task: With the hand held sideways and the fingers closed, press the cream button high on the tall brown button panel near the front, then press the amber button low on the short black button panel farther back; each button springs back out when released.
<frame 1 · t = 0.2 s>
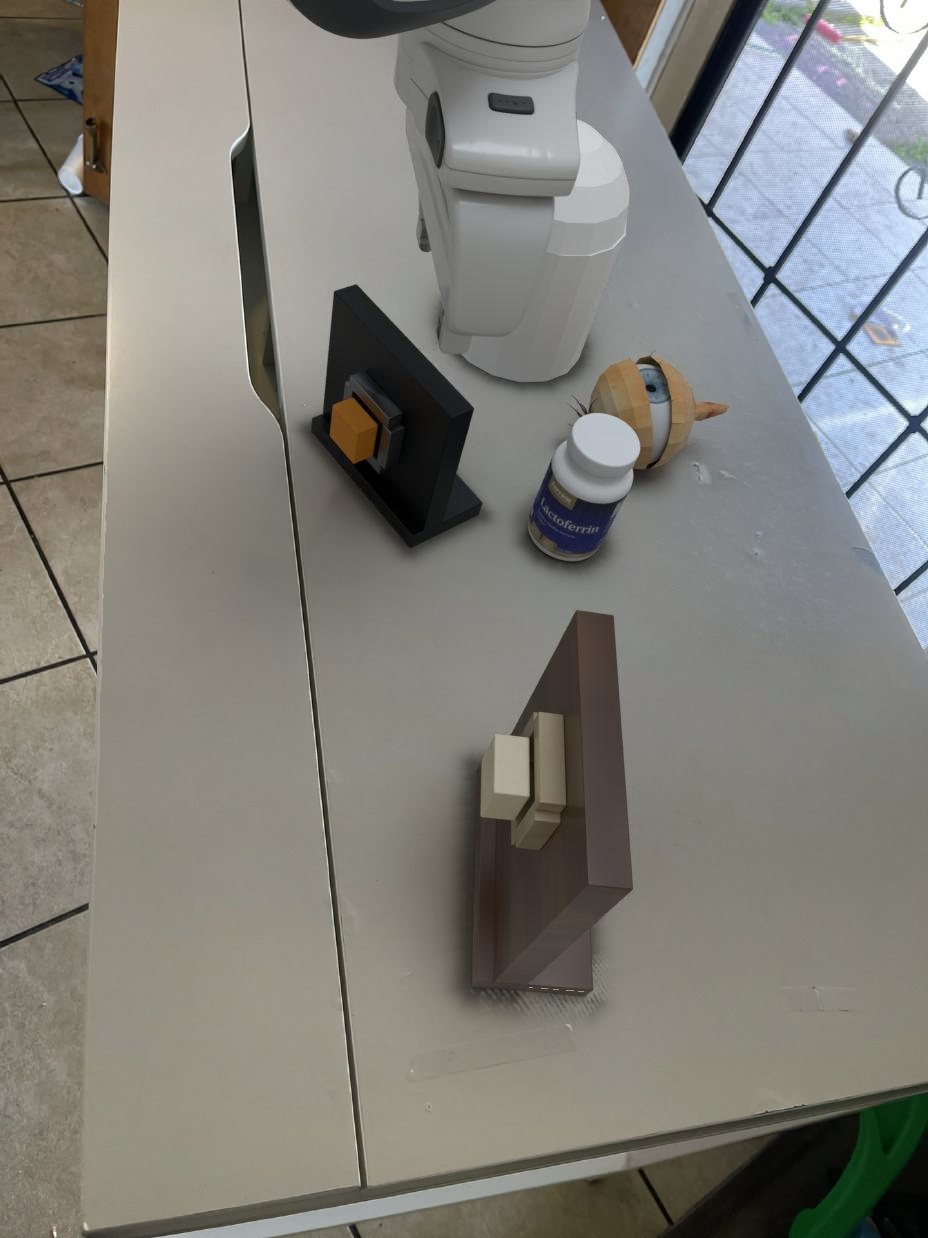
hand: (440, 293, 57), 20 cm above the table, tool pointing down, fingers open, 8 cm apart
sculpture: (631, 452, 82), on the table
scissors: (528, 177, 104), on the table
container: (512, 335, 88), on the table
black button panel: (379, 478, 74), on the table
button far: (353, 430, 67), point 7 cm above the table, slide at -0.1 cm
brown button panel: (505, 873, 58), on the table
pill bottle: (562, 534, 75), on the table
button near: (504, 777, 46), point 14 cm above the table, slide at -0.1 cm
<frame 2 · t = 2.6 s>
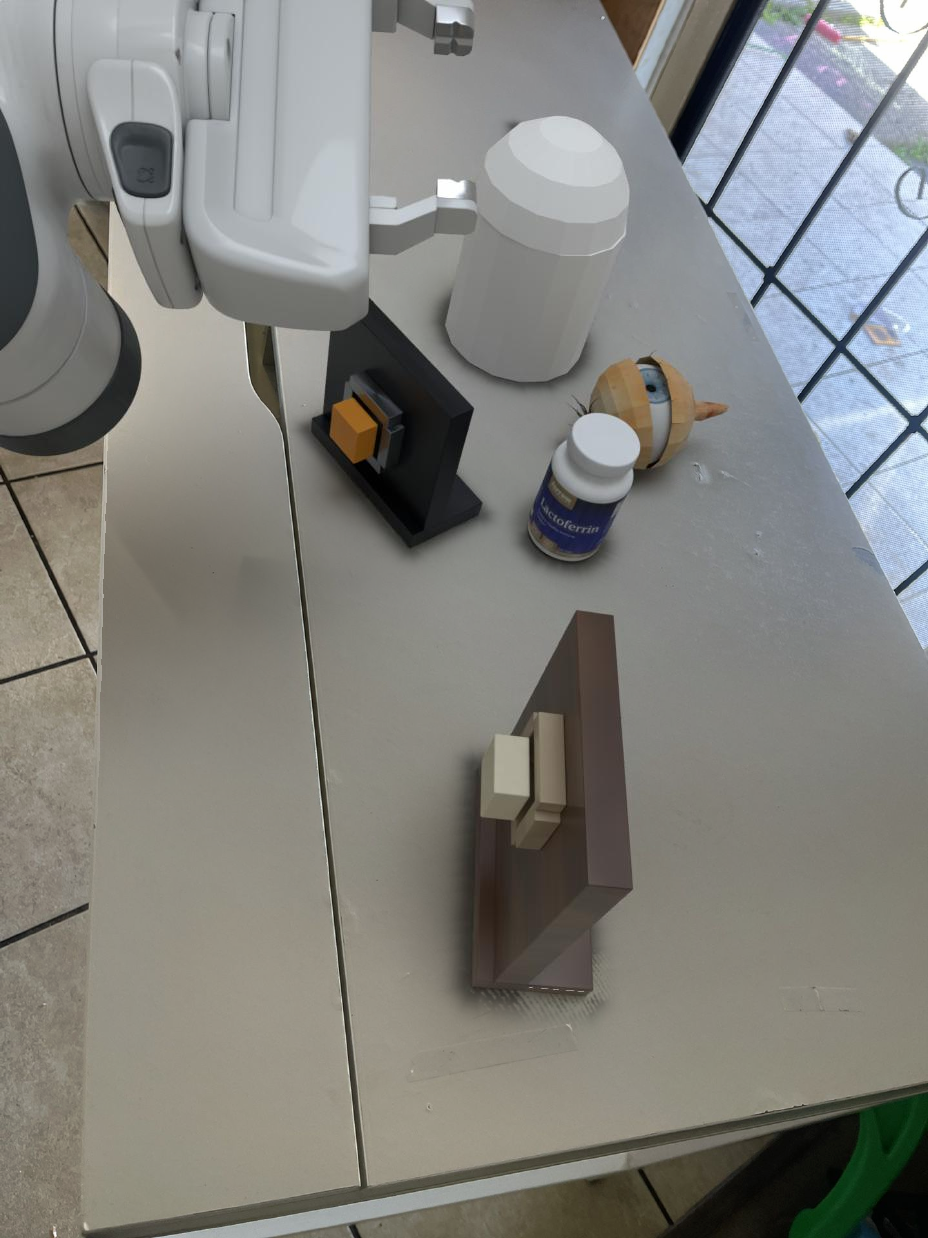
hand: (474, 116, 41), 34 cm above the table, tool horizontal, fingers open, 8 cm apart
nothing on the table moved.
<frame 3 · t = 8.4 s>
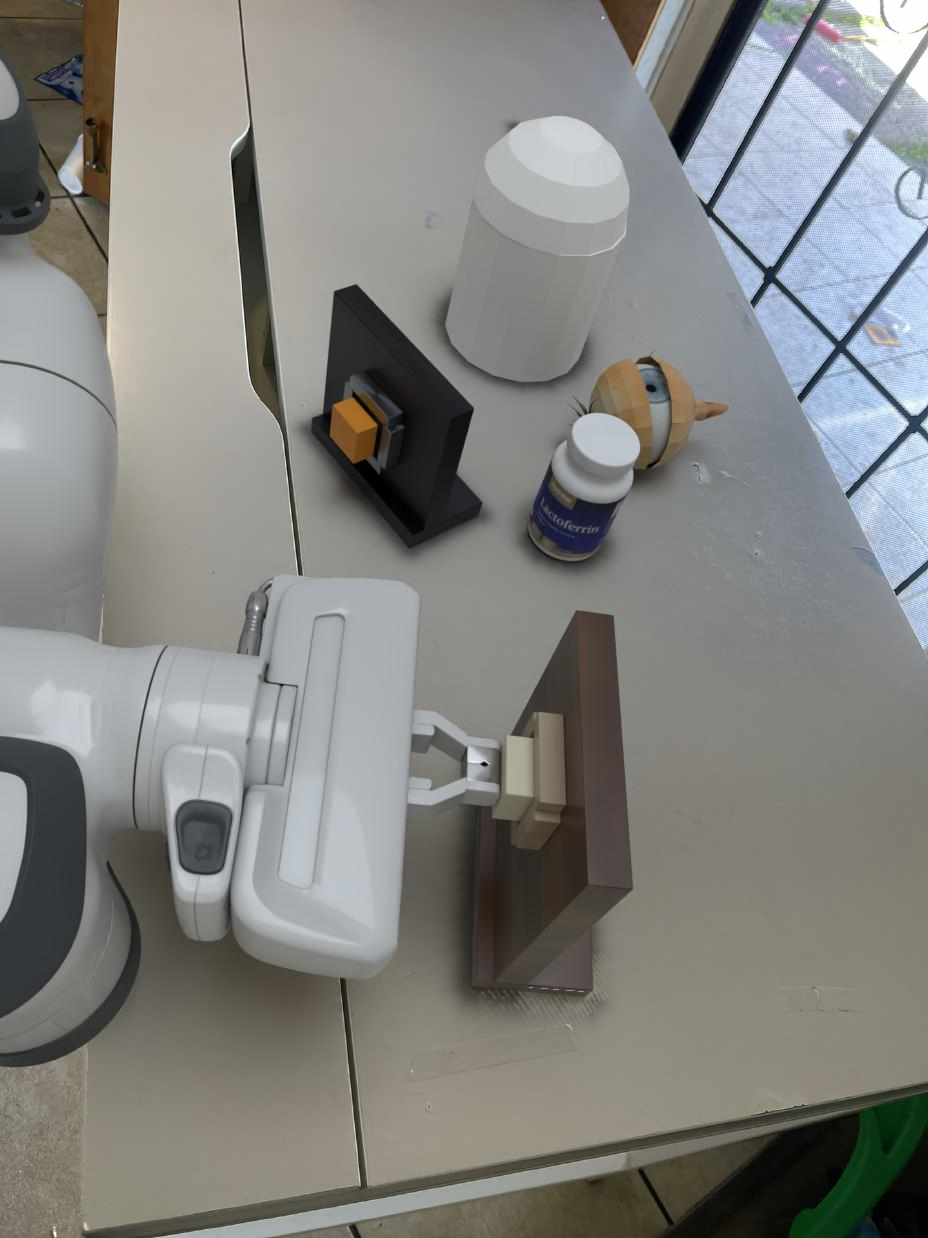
hand: (498, 773, 46), 14 cm above the table, tool horizontal, fingers closed, pressing on button near
button near: (516, 778, 46), point 14 cm above the table, slide at 0.5 cm, touching gripper
everything else where it was.
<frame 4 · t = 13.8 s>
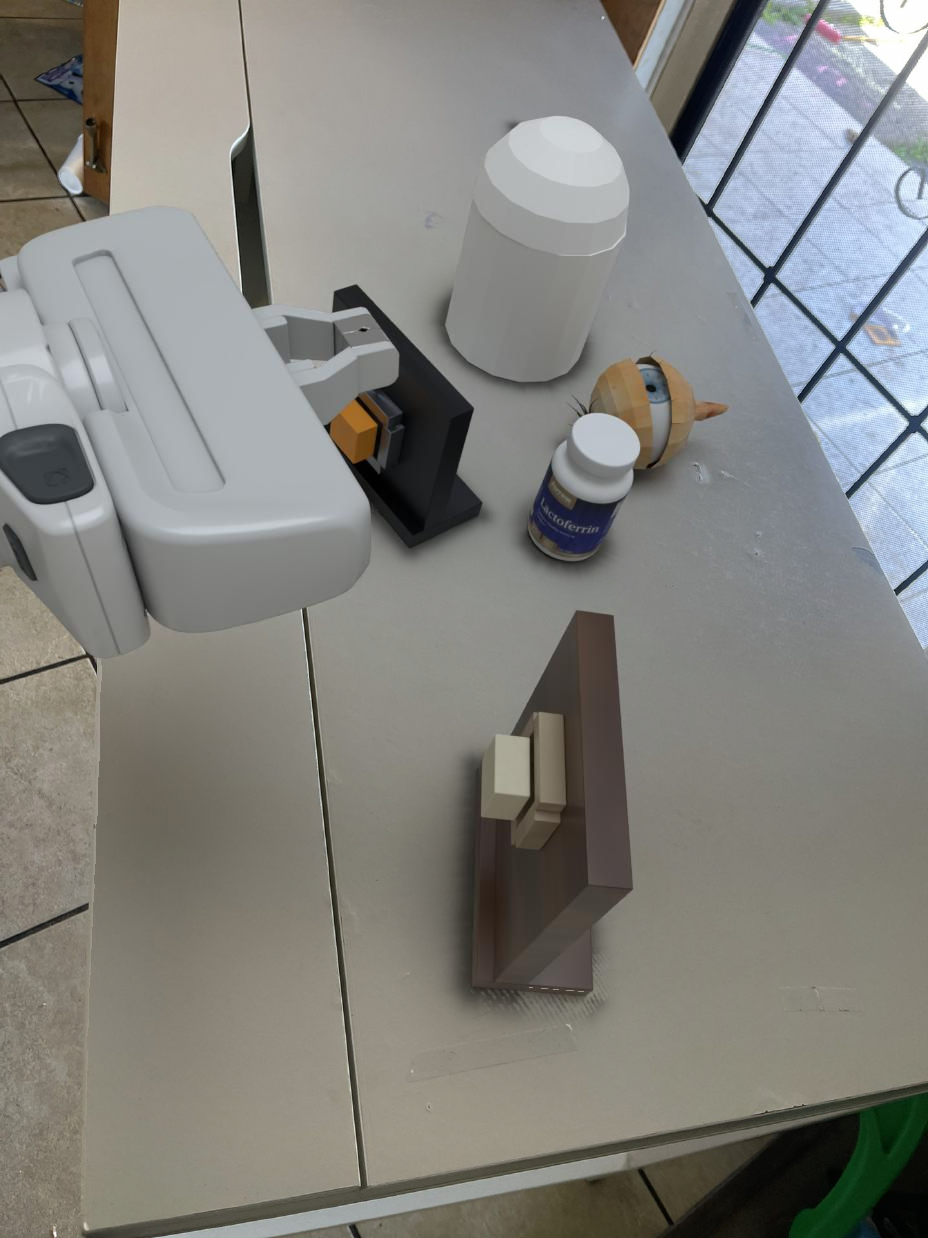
hand: (384, 343, 37), 31 cm above the table, tool horizontal, fingers closed
button near: (505, 777, 46), point 14 cm above the table, slide at -0.1 cm
everything else where it was.
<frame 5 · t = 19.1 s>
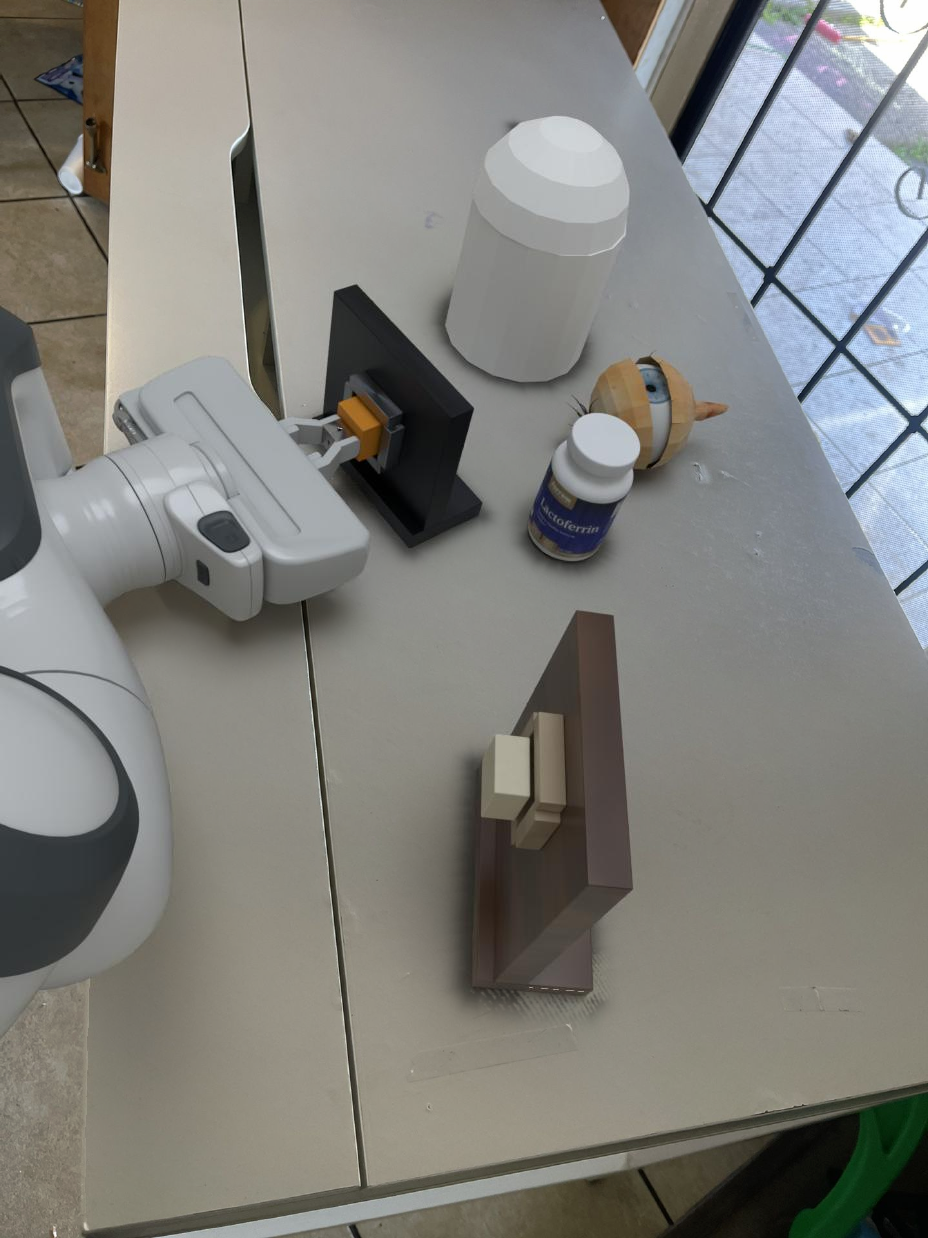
hand: (349, 434, 67), 7 cm above the table, tool horizontal, fingers closed, pressing on button far
button far: (358, 428, 67), point 7 cm above the table, slide at 0.4 cm, touching gripper
everything else where it was.
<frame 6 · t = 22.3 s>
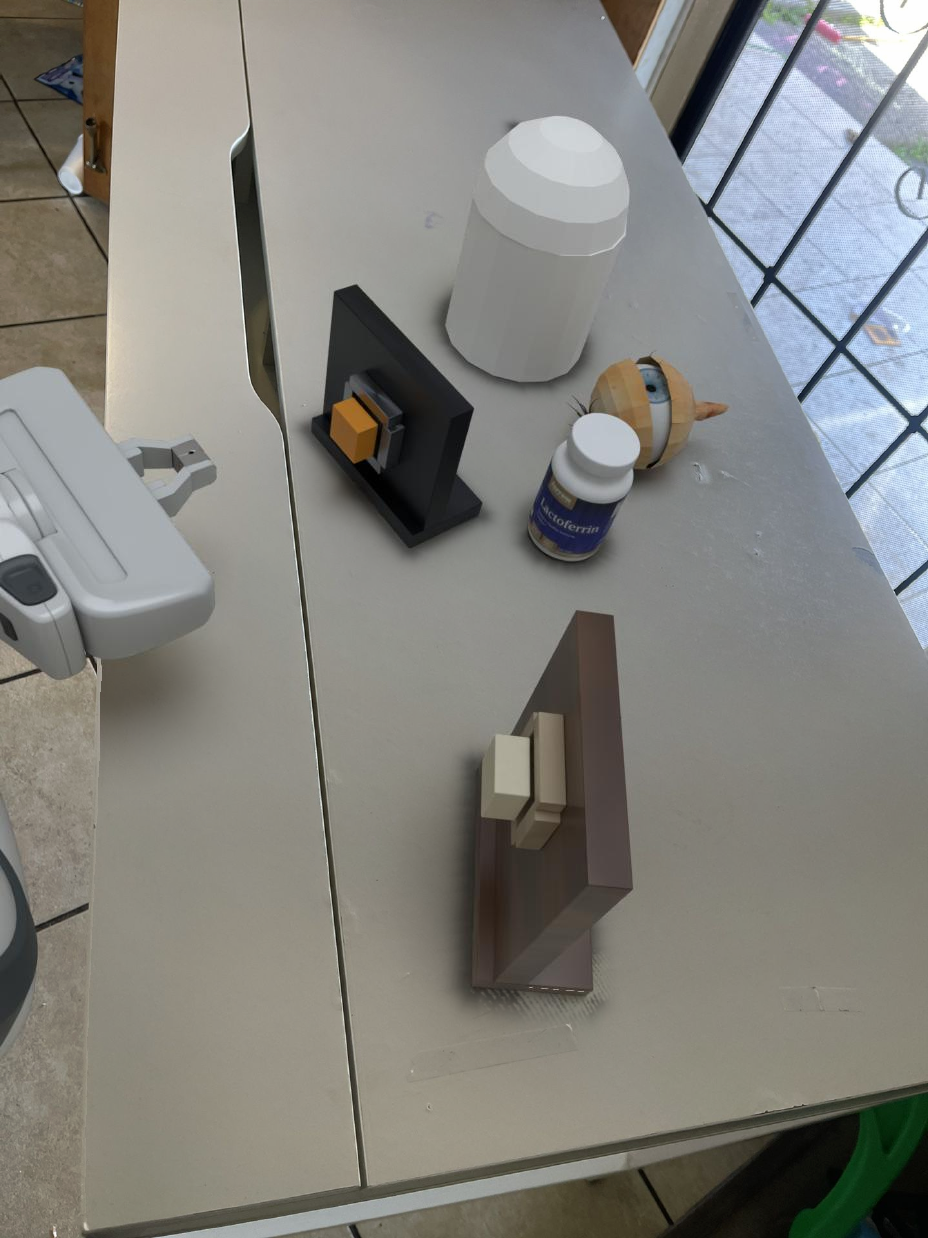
hand: (204, 457, 58), 11 cm above the table, tool horizontal, fingers closed
button far: (353, 430, 67), point 7 cm above the table, slide at -0.1 cm
everything else where it was.
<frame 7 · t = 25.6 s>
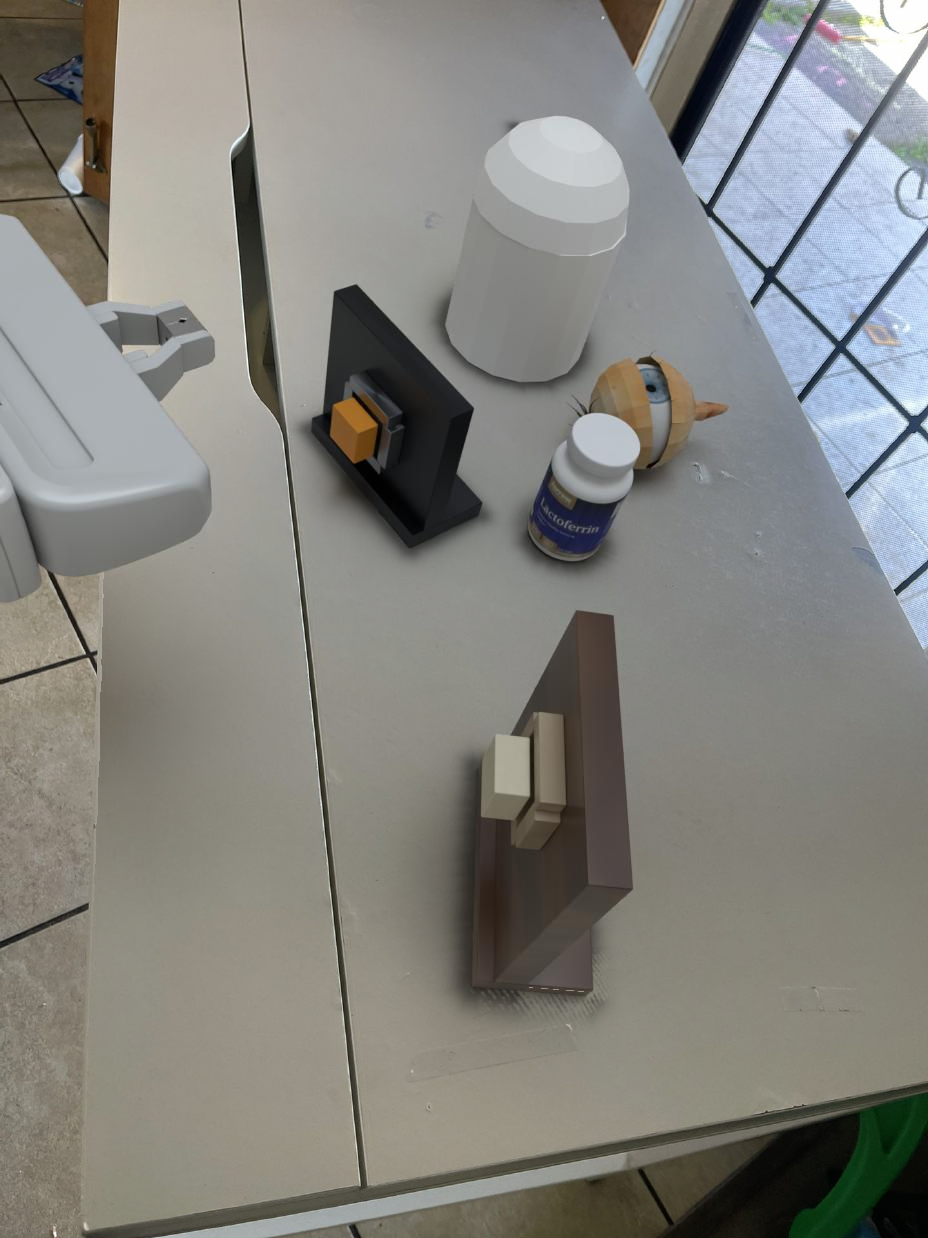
hand: (200, 330, 45), 24 cm above the table, tool horizontal, fingers closed
nothing on the table moved.
at the end: button near pulled out 0.8 cm at the most during the clip, back to where it started at the end; button far pulled out 0.8 cm at the most during the clip, back to where it started at the end; button far slide at -0.1 cm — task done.
